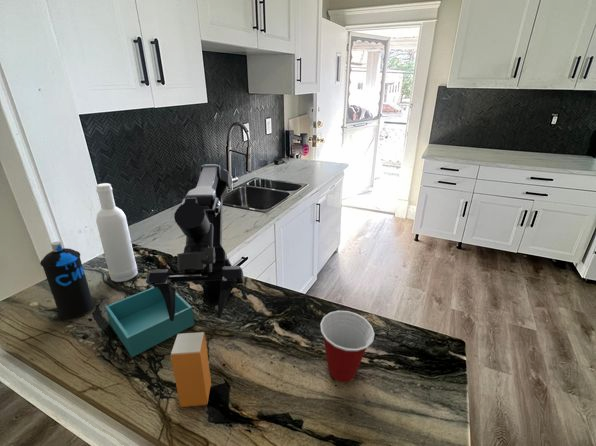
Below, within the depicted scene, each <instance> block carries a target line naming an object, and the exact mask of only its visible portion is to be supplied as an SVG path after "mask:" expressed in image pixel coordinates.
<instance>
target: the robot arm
mask: <svg viewBox="0 0 596 446" xmlns="http://www.w3.org/2000/svg"><path fill="white" fill-rule="evenodd" d="M230 187H231V177H230V173H229V171H228V170H226V169H224V168H222V167H221V165H220V164H213V163H211V164H209V163H208V164H207V163H206V164H202V165H201V166H200V171H199V178H198V180H197V183H196V186H195V188H192V189H189V190H188V192H187V193H186V195H185V197H184V198H183V199H182V201H181V204H180V205H179V206H178V207H177V209H176V210H175V212H174V213H173V215H174V216H173V218H174V221H175V224H176V225H177V226H178V227H179V228H180V230H181V232H182V233H183V235H184V236H185V246H184V248H183V252H180V253H177V255H176V256H177V257H176V258H177V262H176V263H177V271H180V272H176V273H175V272H173V271H172V270H171V269H169V268H162V269H161V268H160V269H151V270H150V271H149V272H148V273H147V276H146V284H148V285H150V286H151V287H152V288H153V287H154V288H156V289H158V290H159V291H161V293H162V295H163V297H164V300H165V303H166V307H167V310H168V314H169V318H170V321H174V316H175V296H176V293H177V289H176V288H175V287H174V285H175V284H176V283H192V282H202V290H201V291H202V295H204V296H205V297H206V299H209V300H210V301H211V302H212V303H216V302H218V305H217V319H221V318H222V315H223V312H224V309H225V307H226V303H227V301H228V299H229V297H230V295H232V294H233V289H237V288H238V285H242V284H244V271H243V268H242V267H241V266H240V265H232V263H231V261H230V259H229V258H228V255H227V253H226V250H225V248H224V247H223V245H222V244H223V207H224V206H223V204H224V202H223V201H224V200H225V199H226V197H227V196H228V194H229V188H230Z"/></svg>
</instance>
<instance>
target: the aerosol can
mask: <svg viewBox="0 0 596 446" xmlns="http://www.w3.org/2000/svg"><path fill="white" fill-rule="evenodd" d="M50 246H51V248H52V250H51V251H50V252H48V253H47V254H45V256H43V257H42V259H41V260H40V262H39V264H40V266H41V267H42V268H43V272H44V275H45V277H46V280H47V283H48V286H49V289H50V291H51V294H52V298H53V300H54V303H55V306H56V308H57V312H58V313H57V315H58V317H59V318H61V320H73V319H77V318H80V317H82V316H85V315H87V314H88V313H89V312H91V311H92V310H93V309H94V307H95V305H96V304H95V301H94V300H93V297H92V294H91V290H90V286H89V284H88V280H87V277H86V274H85V273H86V272H85V270H84V266H83V263H82V259H81V253H80V252H79V251H77V250H75V249H72V248H68V247H67V248H64V247H63V245H62V242H61V241H54V242H52V243H51V244H50Z"/></svg>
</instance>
